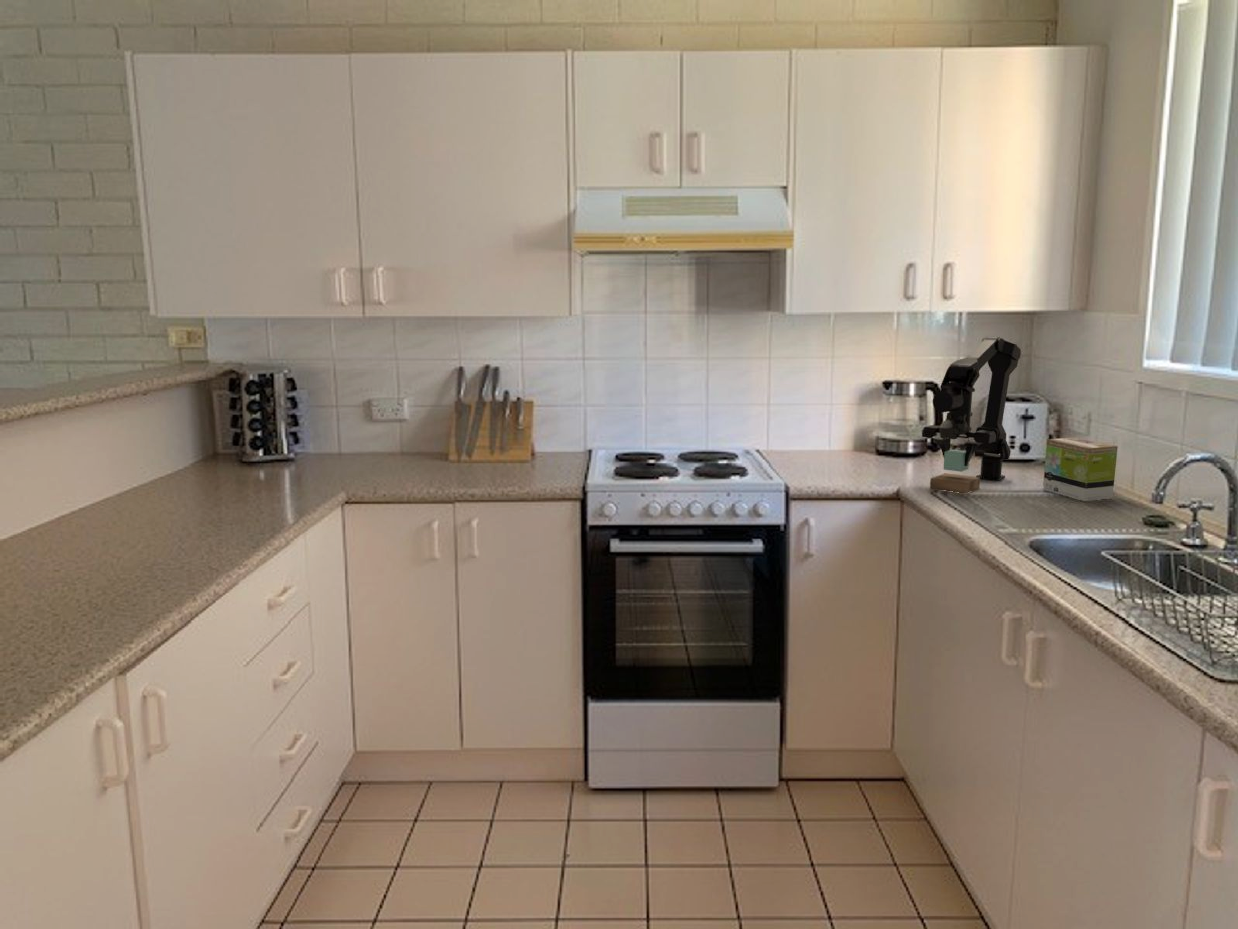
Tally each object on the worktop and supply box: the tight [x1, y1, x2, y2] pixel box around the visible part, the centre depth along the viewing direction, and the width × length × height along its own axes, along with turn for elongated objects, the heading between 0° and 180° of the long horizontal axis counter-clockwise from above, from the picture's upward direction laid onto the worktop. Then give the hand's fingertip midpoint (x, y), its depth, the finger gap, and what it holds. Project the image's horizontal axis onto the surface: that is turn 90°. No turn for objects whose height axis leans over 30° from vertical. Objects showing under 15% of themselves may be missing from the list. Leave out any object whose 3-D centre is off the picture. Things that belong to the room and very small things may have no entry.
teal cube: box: [943, 449, 970, 472], centre depth 256 cm, size 5×5×5 cm
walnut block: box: [929, 473, 981, 494], centre depth 257 cm, size 10×10×4 cm
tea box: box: [1042, 436, 1119, 502], centre depth 248 cm, size 15×10×15 cm, turn 19°
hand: (956, 464), depth 256 cm, fingers closed on teal cube, 5 cm apart
